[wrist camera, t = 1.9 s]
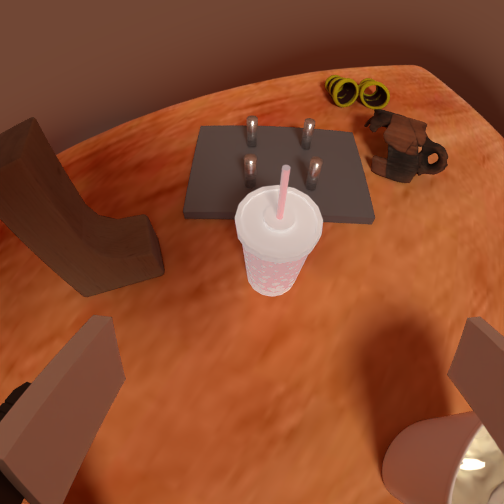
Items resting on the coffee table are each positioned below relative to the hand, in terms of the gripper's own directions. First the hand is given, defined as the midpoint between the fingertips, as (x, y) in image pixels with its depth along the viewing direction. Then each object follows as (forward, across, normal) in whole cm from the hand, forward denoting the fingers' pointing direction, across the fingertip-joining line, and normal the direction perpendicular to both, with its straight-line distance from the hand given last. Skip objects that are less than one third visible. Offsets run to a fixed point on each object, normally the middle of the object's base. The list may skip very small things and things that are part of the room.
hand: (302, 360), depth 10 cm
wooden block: (+19, -15, -4) cm, 25 cm away
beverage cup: (+19, 0, -4) cm, 20 cm away
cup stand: (+28, +1, +5) cm, 29 cm away
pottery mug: (+31, +17, +8) cm, 36 cm away
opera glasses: (+41, +14, +18) cm, 46 cm away
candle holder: (+6, +14, -18) cm, 23 cm away
